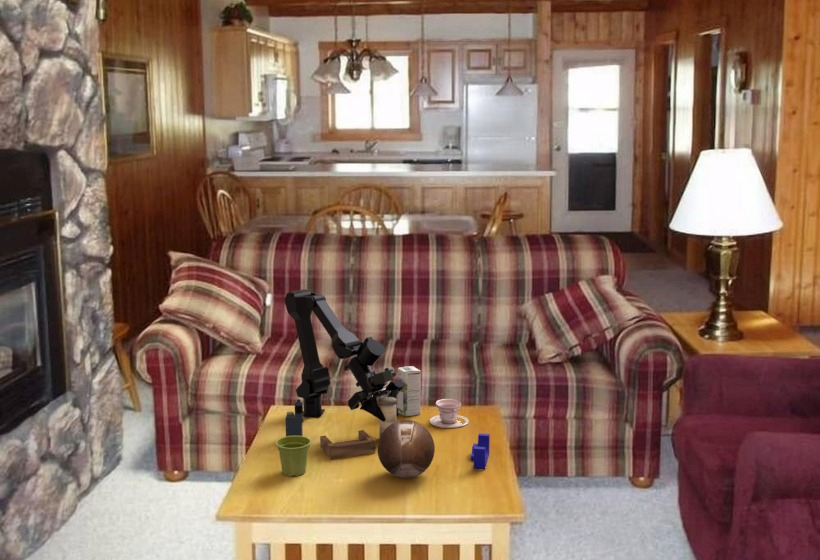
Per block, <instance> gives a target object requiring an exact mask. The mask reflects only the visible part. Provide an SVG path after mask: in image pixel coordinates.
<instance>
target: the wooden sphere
mask: <svg viewBox="0 0 820 560" xmlns="http://www.w3.org/2000/svg"><path fill="white" fill-rule="evenodd" d="M435 448H436V446H435V442H434V438H433V436H432V434H431V432H430V431H429V429H428V428H427V427H426V426H424V425H423V424H421V423H419V422H417V421H415V420H410V419H402V420H398V421H397V422H395V423H393V424H391V425H389V426H388V427H387V428H386V429H385V430H384V431H383V433H382V434H381V436H380V435H379V439H378V442H377V456H378V459H379V461H380V463H381V465H382V467H383V469H385V471H387V472H388V473H389V474H390V475H393V476H395V477H396V478H397V477H398V478H402V479H410V478H415V477H418V476H420V475H421V474H423V473H424V472H426V470H428V468H429V467H430V466H431V464H432V462H433V459H434V457H435V451H436V450H435Z"/></svg>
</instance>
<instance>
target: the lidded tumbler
mask: <svg viewBox="0 0 820 560" xmlns="http://www.w3.org/2000/svg"><path fill="white" fill-rule="evenodd" d="M396 403H397V404H398V398H397V397H396V398H393V397H383V396H381V397H380V398H379V399H378V406H379V407H380V409H381V411H382V413H383V414H384V416H385V419H386V420H385V421H384V422H383V421H381V420H380V419H378V420H379V421H378V422H379V423H378V425H379V429H378V430H379V437H380V436H381V434H382V433H383V431H384V430H385V429H386V428H387V427H388V426H389V425H391V424H393V423H395V422H397V419H398V417H396Z"/></svg>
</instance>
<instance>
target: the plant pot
mask: <svg viewBox="0 0 820 560" xmlns="http://www.w3.org/2000/svg"><path fill="white" fill-rule="evenodd" d="M311 444H312V440H311V438H309V437H307V436H304V435H303V436H287V437H286V436H283V437H280V438H278V439H277V440H276V441H275V445H276V447H277V450H278V452H279V458H280V464H281V471H282V474H283V475H284V476H288V477H293V476H297V477H300V476H302V475H304V474H305V473H306V471H307V464H308V463H307V462H308V453H309V449H310V445H311ZM299 475H300V476H299Z"/></svg>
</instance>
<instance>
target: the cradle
mask: <svg viewBox="0 0 820 560" xmlns="http://www.w3.org/2000/svg"><path fill="white" fill-rule="evenodd" d="M357 433H358V438H357V439H351V440H344V441H337V442H332V441H331V440H330V439H329V438H328V437H327V436H326V435H320V436H319V438H320V439H319V440H320V442H319V443H320V447H321V448H322V449H323V450H322V449H321V448H320V449H321V450H322V451H323V453H325V455H326V456H328V458H330V459H331V460H336V458H337V459H343V457H344V458H349V456H350V457H357V456H362V455H368V454H375V453H377V452H376V448H377V447H376V440H375V439H374V438H373V437H372V436H370V434H369V433H368V432H366V431H365V430H364V429H361V430H358V432H357Z"/></svg>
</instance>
